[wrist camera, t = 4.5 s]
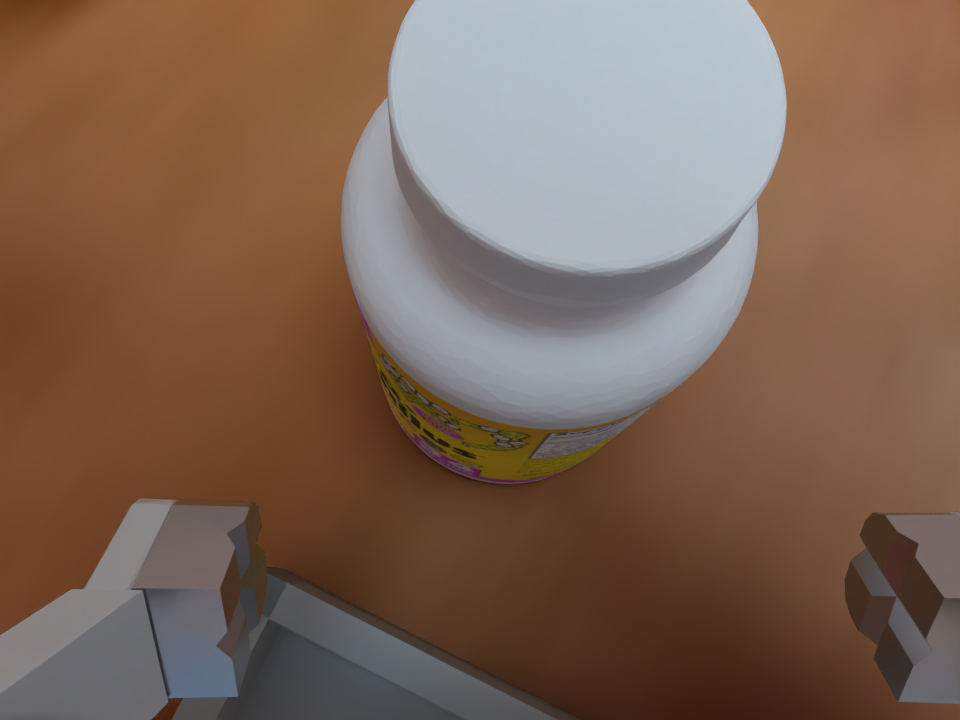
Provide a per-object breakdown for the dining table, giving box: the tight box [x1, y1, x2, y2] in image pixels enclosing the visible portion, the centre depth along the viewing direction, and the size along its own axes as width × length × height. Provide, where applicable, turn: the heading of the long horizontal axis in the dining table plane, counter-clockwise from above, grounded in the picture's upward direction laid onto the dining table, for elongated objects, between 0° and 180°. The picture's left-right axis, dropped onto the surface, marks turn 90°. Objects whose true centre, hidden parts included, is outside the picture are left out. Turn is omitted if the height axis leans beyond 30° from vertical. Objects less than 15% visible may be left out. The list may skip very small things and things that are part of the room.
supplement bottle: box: [341, 0, 787, 484], centre depth 15 cm, size 7×7×13 cm
